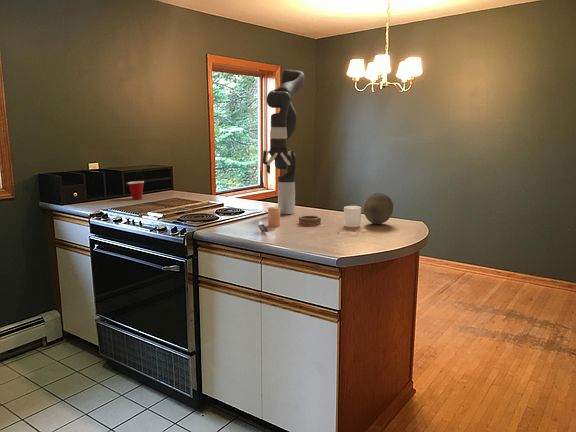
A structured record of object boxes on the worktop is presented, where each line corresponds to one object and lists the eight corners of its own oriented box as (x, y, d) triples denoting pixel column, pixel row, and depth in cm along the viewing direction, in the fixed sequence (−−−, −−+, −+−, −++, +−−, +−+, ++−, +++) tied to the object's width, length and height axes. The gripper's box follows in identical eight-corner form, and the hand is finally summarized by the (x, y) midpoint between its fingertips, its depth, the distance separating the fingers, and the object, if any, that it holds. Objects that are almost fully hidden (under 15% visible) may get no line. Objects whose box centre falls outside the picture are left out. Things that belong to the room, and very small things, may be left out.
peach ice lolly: (267, 226, 212) (267, 207, 210) (279, 226, 213) (279, 206, 211) (269, 230, 203) (269, 210, 201) (282, 230, 204) (282, 210, 202)
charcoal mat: (258, 225, 217) (258, 224, 216) (283, 224, 219) (283, 223, 219) (262, 231, 203) (262, 230, 203) (289, 230, 205) (289, 229, 205)
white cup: (359, 227, 213) (359, 205, 211) (362, 230, 205) (363, 208, 204) (342, 227, 213) (342, 205, 211) (344, 230, 205) (345, 208, 203)
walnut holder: (292, 224, 219) (292, 215, 219) (320, 223, 222) (320, 214, 221) (297, 230, 206) (297, 220, 205) (328, 229, 208) (328, 219, 207)
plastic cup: (128, 198, 312) (127, 181, 310) (145, 197, 315) (144, 180, 313) (128, 200, 302) (127, 182, 300) (145, 200, 305) (144, 182, 303)
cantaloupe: (357, 223, 222) (358, 192, 220) (382, 221, 227) (383, 191, 225) (372, 228, 209) (373, 195, 207) (399, 226, 214) (400, 194, 212)
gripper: (292, 137, 211) (292, 172, 215) (261, 137, 209) (262, 172, 213) (295, 137, 204) (295, 174, 207) (263, 137, 202) (263, 174, 205)
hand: (278, 173), depth 210 cm, fingers open, 8 cm apart
